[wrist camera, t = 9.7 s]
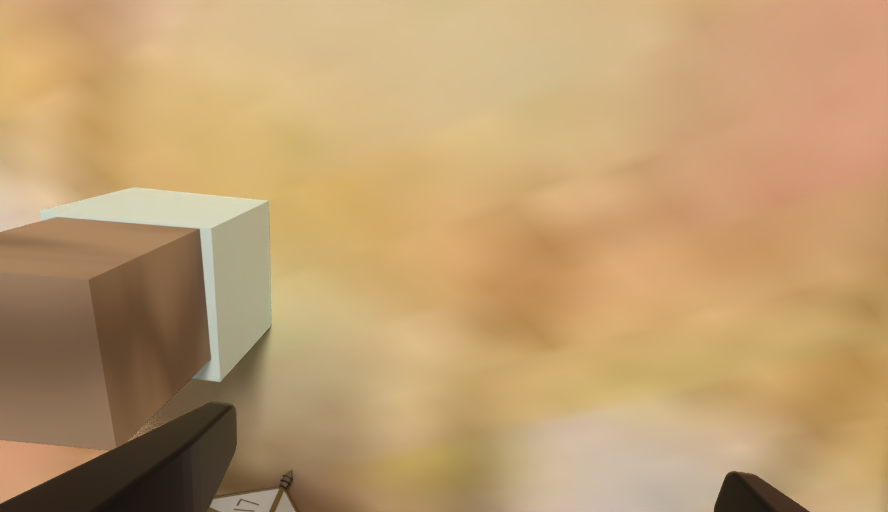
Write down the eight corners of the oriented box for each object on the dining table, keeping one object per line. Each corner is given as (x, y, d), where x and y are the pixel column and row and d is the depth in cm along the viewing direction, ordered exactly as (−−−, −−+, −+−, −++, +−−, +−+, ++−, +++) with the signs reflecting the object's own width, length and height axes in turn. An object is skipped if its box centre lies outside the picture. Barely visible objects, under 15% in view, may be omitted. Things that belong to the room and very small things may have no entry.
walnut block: (211, 358, 18) (116, 451, 13) (80, 346, 18) (-61, 434, 13) (199, 228, 16) (88, 279, 12) (56, 216, 17) (-112, 262, 12)
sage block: (269, 200, 21) (211, 228, 16) (272, 324, 23) (220, 381, 18) (136, 186, 21) (39, 210, 16) (149, 311, 23) (65, 364, 18)
